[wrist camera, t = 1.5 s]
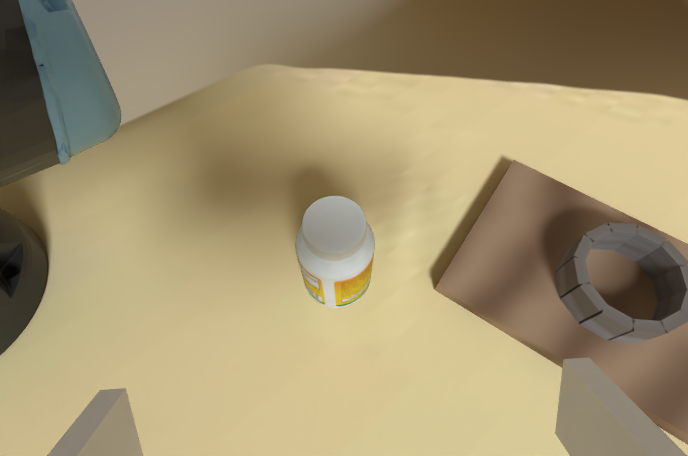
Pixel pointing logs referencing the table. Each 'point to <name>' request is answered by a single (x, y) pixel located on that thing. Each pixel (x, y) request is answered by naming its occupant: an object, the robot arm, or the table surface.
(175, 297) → the table surface
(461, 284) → the collar board
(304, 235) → the supplement bottle
